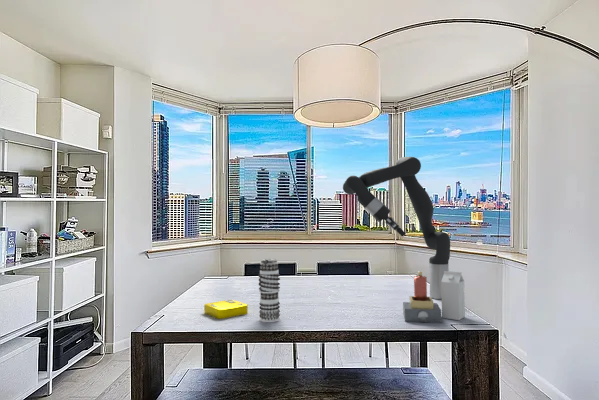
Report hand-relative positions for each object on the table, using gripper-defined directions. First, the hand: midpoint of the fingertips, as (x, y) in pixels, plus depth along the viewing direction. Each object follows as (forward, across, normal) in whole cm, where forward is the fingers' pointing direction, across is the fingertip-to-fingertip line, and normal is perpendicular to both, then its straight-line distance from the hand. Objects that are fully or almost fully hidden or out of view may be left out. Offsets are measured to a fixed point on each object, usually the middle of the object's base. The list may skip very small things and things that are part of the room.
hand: (403, 234), depth 186 cm
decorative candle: (-16, -26, +64) cm, 71 cm away
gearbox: (+28, -15, +20) cm, 37 cm away
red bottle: (+24, -15, +16) cm, 33 cm away
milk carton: (+37, -12, +11) cm, 41 cm away
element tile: (-31, -19, +80) cm, 88 cm away
